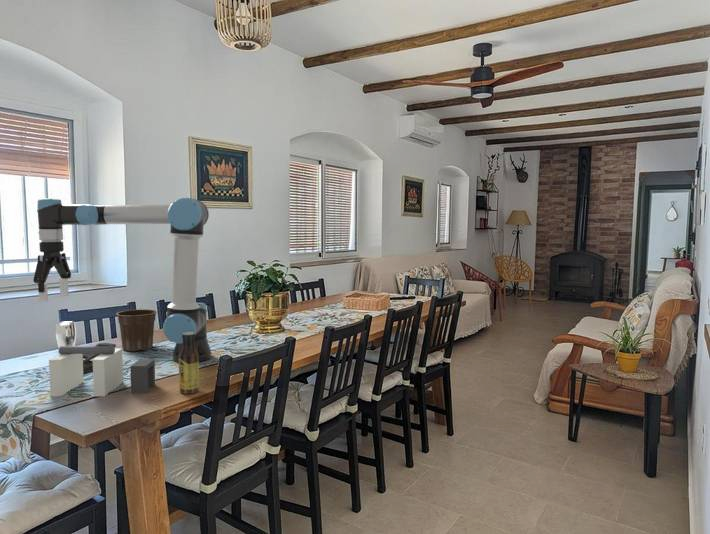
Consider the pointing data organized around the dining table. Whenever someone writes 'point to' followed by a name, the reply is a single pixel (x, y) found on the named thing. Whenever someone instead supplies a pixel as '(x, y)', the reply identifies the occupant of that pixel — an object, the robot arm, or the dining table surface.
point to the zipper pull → (89, 364)
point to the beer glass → (66, 333)
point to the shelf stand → (70, 369)
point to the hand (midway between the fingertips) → (54, 298)
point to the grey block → (142, 375)
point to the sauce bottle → (188, 365)
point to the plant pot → (136, 329)
